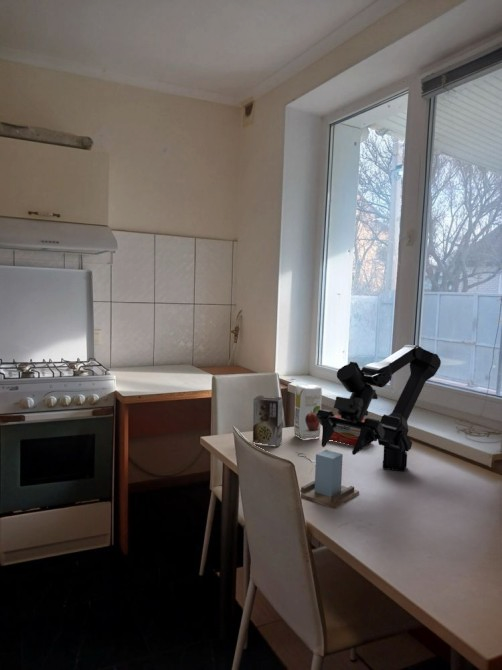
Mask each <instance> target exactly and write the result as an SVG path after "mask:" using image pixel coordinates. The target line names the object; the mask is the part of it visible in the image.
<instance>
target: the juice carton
mask: <svg viewBox="0 0 502 670" xmlns="http://www.w3.org/2000/svg"><path fill="white" fill-rule="evenodd" d="M322 391H323V390H322V387H321V386H319V385H316V384H305V385H302V384H296V387H295V392H294V393H295V394H294V397H295V398H294V416H293V417H294V421H293V424H294V425H293V433H294V436H295V435H297V436H299V437H300V438H302V439H306V438H316V437H319V438H320V437H321V436H320V435H321V427H322V425H321V424H320V422H319V421H318V419H317V418H316V414H317V412H318V410H320V409H322V402H323V400H322V399H323V396H322V395H323V393H322Z"/></svg>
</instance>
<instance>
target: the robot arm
mask: <svg viewBox="0 0 502 670" xmlns="http://www.w3.org/2000/svg"><path fill="white" fill-rule="evenodd" d="M441 364H442V361H441V359H440V357H439V354H438V353H434V352H431V351H428V350H426V349H424V348H422V347H421V346H419V345H414V344H405V345H404V346H402V347H401V349H399V350H396V351H395V352H393V353H392V354H391V355H389V356H387V357H386V358H384V359H383V360H381V361H376V362H370V363H368V364H365V365H364V366H362V368H360V366H359V364H358V362H357V361H350V362H349V363H348V364H345V365H343V366H341V368H339V369H338V370H337V372H336V377H337V379H338V381H339V382H340V383H341V385H342V386H343V387H344V389H345V390H346V391H347V392H349V393H350V394H351V395H350V396H349V397H348V398H347V397H343V396H336V397H335V400H334V404H333V409H335V410H337V413H338V416H341V418H340V417H335V416H334V415H335V414H334V412H333V411H332V410H327V409H323V408H321V409H320V410H318V412H317V414H316V418H317V419H318V421H319V422H320V424H321V427H322V429H321V430H322V433H321V434H322V435H321V447H322V448H325V447H326V446H327V444H328V442H330V441H329V439H330V438H331V436H332V434H333V432H334V429H333V428H335V427H336V425H337V424H339V425H343V426H348V427H353V428H358V429H361V430H360V435H359V437H358V439H357V441H356V443H355V446H353V448H352V452H351V454H352V455H353V456H355V455H356V454H357V453H359V452H360V451H361V450H363V449H364V448H365V447H367V446H368V445H370V444H371V443H372V442H373V443H374V442H378V445H379V446H383V458H382V470H383V469H385V470H392V471H401V472H402V471H403V472H405V471H406V468H408V467H407V466H408V465H407V463H408V452H409V451H410V450H411V449H412V445H413V441H412V440H411V439H410V437H409V435H408V434H409V433H408V432H409V425H408V420H409V417H410V416H411V414H412V411H413V409H414V407H415V405H416V403H417V401H418V398H419V396H420V395H421V393H422V390H423V388H424V386H425V384H426V382H427V381H428V380H430V379H431V378H433V377H435V375H436V373H437V372H438V370H439V369H440V367H441ZM407 365H409V370H410V374H409V377H408V379H407V382H406V383H405V385H404V387H403V389H402V392H401V394H400V395H399V397H398V399H397V401H396V403H395V406H394V408H393V409H392V412H391V413H390V414H388V415H387V414H383V415H382V416H381V418H380V420H379V419H375V418H369V417H368V415H369V411H368V409H369V407H370V405H371V402H372V400H378V397H379V396H378V394H377V391H376V389H374V388H373V387H377V388H384V387H386V386H387V385H388V383H389V382H390V381H392V377H393V375H394V374H395V373H396V372H398V371H399V370H401V369H403V368H404V367H406V366H407ZM366 416H367V417H366ZM365 417H366V418H365ZM363 420H364V422H362V421H363Z"/></svg>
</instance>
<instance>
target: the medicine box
mask: <svg viewBox="0 0 502 670" xmlns="http://www.w3.org/2000/svg"><path fill="white" fill-rule="evenodd" d="M334 416H335V417H340V418H341V415H336V414H334ZM364 420H365V419H363V421H362V422H364ZM333 429H334V432H333V434H332V436H331V438H330V439H329V440H333V441H337V442H341V443H345V444H349V445H348V446H350V445H353V446H352V447H354V446H355V443H356V441H357V439H358V437H359V435H360V430H361V429H358V428H353V427H348V426H343V425H339V424H337V425H336V427H335V428H333ZM345 444H344V445H345Z"/></svg>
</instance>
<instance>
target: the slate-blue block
mask: <svg viewBox="0 0 502 670" xmlns="http://www.w3.org/2000/svg"><path fill="white" fill-rule="evenodd" d="M315 459H316V465H315V467H314V468H315V469H314V470H315V471H314V481H315V490H314V492H317V493H320V494H323V495H326V496H329V497H332V496H334V495H336V494H337V493H339V492H341V486H342V479H343V478H342V476H343V453H339V452H336V451H332V450H328V449H325V450H322V451H319V452H317V453H316V454H315Z"/></svg>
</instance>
